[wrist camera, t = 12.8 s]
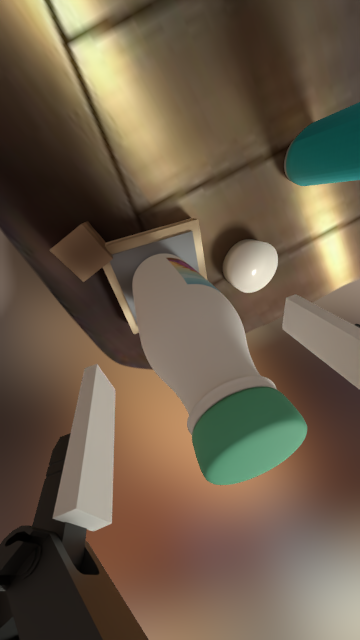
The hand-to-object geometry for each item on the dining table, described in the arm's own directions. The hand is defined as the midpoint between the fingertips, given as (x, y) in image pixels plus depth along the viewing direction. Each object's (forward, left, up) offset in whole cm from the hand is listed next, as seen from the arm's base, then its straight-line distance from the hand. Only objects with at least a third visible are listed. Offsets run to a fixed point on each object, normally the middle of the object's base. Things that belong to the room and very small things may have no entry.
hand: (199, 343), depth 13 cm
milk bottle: (0, 0, -13) cm, 13 cm away
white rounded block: (+2, +13, -16) cm, 21 cm away
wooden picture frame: (0, 0, -16) cm, 16 cm away
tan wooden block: (-6, -7, -16) cm, 18 cm away
